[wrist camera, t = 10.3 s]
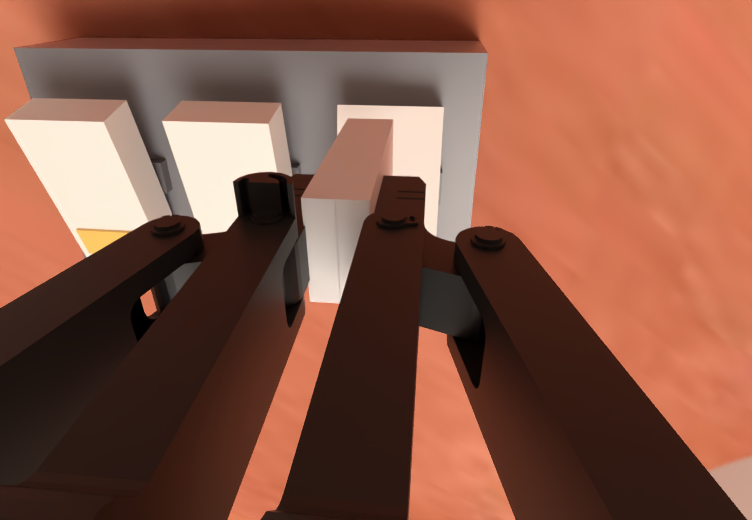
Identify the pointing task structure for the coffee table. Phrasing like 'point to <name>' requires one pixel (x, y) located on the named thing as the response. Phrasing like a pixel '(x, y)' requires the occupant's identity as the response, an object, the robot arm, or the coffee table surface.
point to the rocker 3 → (410, 145)
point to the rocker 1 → (91, 166)
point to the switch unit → (278, 93)
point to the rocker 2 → (224, 152)
